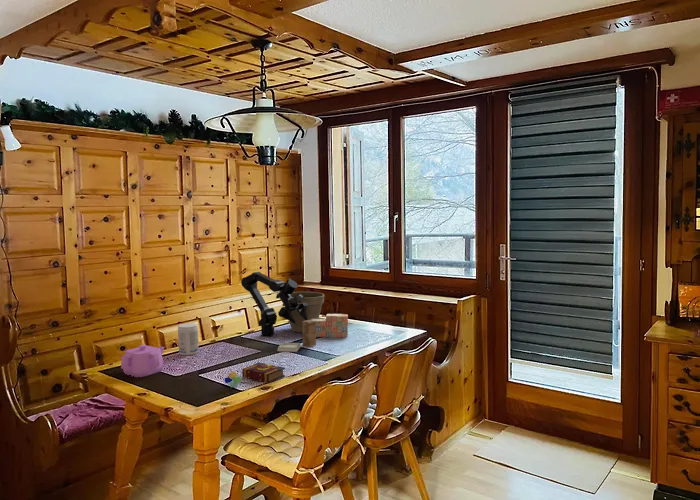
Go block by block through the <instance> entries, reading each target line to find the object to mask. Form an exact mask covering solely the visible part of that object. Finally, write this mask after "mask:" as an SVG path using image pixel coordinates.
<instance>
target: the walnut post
mask: <svg viewBox="0 0 700 500" xmlns="http://www.w3.org/2000/svg"><path fill="white" fill-rule="evenodd" d="M316 345H317V337H316V321H312V320H306V321H303V332H302V346H305V347H313V346H316Z"/></svg>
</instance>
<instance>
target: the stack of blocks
mask: <svg viewBox="0 0 700 500" xmlns="http://www.w3.org/2000/svg"><path fill="white" fill-rule="evenodd" d="M311 320H312V321H316V338H319V337H320V338H321V337H323V338H347V337H348V335H349V331H348V329H349V315H348V314H346V313H327V314H326V316H325V318H319V319H311Z"/></svg>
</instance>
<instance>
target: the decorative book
mask: <svg viewBox="0 0 700 500" xmlns="http://www.w3.org/2000/svg"><path fill="white" fill-rule="evenodd" d="M285 369H286V367H284V366H277V365H274V364H267V363H264V362H259V361H258V362H256V363H253V364H251V365H250V366H246V367H243V368H242V369H241V370H242V371H241V373H242V375H241V378H244V379H246V380H248V379H252V380H251V381H257V382H258V383H261V382H263V383H266V384H269V383H272V382H274V381H277V380H280V379H283V378H285V377H286V375H285V374H284V370H285Z"/></svg>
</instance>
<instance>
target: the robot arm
mask: <svg viewBox="0 0 700 500" xmlns="http://www.w3.org/2000/svg"><path fill="white" fill-rule="evenodd" d="M259 282H260V283H262V284H263V285H265V286H268V287H269V290H271V291H272V292H273V293H276V292H278V293H276V296H275V299H280V301H281V303H282V304H281V305H282V307H281V308H280V309H279V310H278V312H276V311H275V309H274V308H273V307H269V306H268V304H267V302H266V301H265V299H264V297H263V295H262V294H261V292H260V290H259V289H258V283H259ZM240 284H241V286H242V288H244V290H246V291H247V292H248V293H249V294H250V296H251V297H252V299H253V300H254V303H255V304H256V305H257V308H258V309H259V310H260V320H259V321H258V326H260V328H261V335H260V337H265V338H266V337H273V336H274V335H275V327H274V325H277V324H276V323H277V318H278V317H280V318H283V319H284V320H288V322H289V321H291V322H292V323H294V324H295V323H296V322H295V320H294V318H293V316H292V314H291V312H292V311H296V310H297V311H298V312H299V314H300V315H301V316H302V317H303V318H304V319H305V320H308V318H307V314H306V309H307V307H308V304H307V303H301V304H300V305H299V306H298V307H297V305H298V304H299V302H302V300H303V299H304V298H303V296H302V295H298V296H296V297H291V296H290V294H292V293H293V292H296V290H297V288H298V287H299V286H298V283H297V282H296V281H294V280H292V278H288V279H287V280H286V281H285V282H284V280H281V279H274V278H272V277H270V276H268V275H265V274H264V273H261V271H254V272H251V274H249V275H246V276H245V277H243V278H242V279H241V282H240ZM277 314H278V315H277Z"/></svg>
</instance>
